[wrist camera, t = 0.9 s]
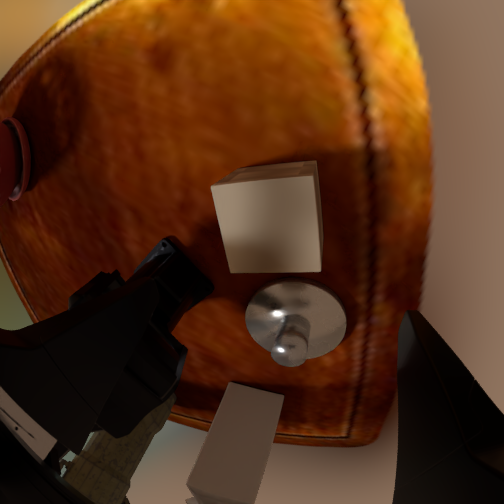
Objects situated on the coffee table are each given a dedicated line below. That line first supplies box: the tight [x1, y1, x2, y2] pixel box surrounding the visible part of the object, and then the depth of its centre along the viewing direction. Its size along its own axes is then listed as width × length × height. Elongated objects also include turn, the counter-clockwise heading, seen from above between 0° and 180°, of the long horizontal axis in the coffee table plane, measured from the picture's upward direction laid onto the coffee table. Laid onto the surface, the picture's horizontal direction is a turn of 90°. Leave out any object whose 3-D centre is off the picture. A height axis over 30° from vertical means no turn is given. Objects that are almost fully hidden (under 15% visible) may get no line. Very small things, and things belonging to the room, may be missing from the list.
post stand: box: [245, 277, 346, 367], centre depth 22 cm, size 9×9×4 cm
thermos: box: [59, 393, 177, 504], centre depth 24 cm, size 9×12×35 cm
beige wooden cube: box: [211, 160, 324, 273], centre depth 17 cm, size 6×6×5 cm
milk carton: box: [186, 382, 284, 504], centre depth 25 cm, size 7×7×19 cm
